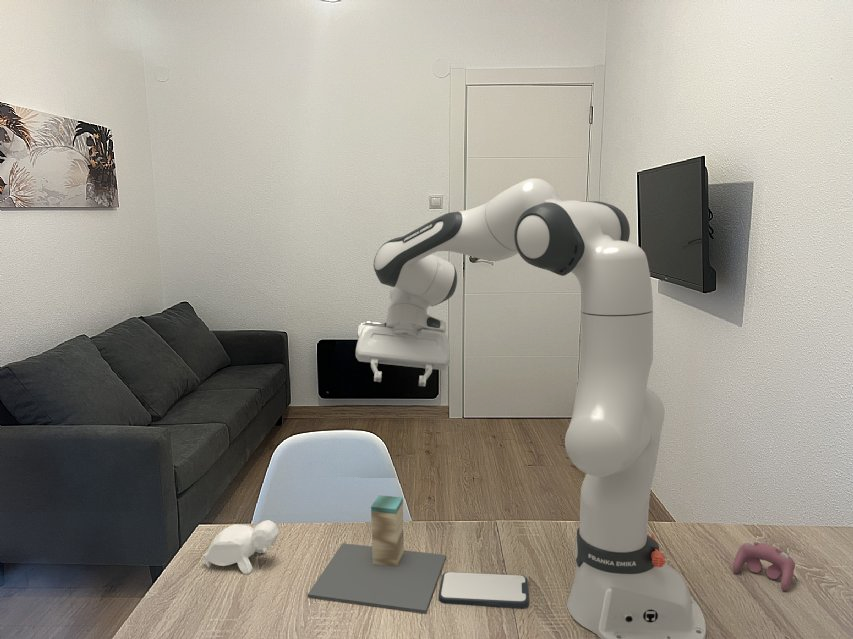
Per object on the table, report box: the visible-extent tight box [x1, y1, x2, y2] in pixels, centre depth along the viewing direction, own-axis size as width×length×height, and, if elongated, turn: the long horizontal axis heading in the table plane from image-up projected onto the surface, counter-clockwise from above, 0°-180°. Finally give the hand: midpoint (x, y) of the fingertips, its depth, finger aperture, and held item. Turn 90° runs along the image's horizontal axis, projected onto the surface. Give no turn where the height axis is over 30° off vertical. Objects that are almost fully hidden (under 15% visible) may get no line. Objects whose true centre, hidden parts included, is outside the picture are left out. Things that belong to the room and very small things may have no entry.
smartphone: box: [438, 571, 529, 610], centre depth 116 cm, size 9×2×16 cm
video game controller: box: [732, 541, 796, 592], centre depth 119 cm, size 10×5×7 cm, turn 47°
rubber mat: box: [307, 542, 447, 614], centre depth 121 cm, size 22×18×1 cm
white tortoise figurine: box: [202, 519, 280, 575], centre depth 126 cm, size 8×8×15 cm
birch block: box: [370, 495, 405, 566], centre depth 125 cm, size 5×5×12 cm
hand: (399, 382), depth 133 cm, fingers open, 8 cm apart
